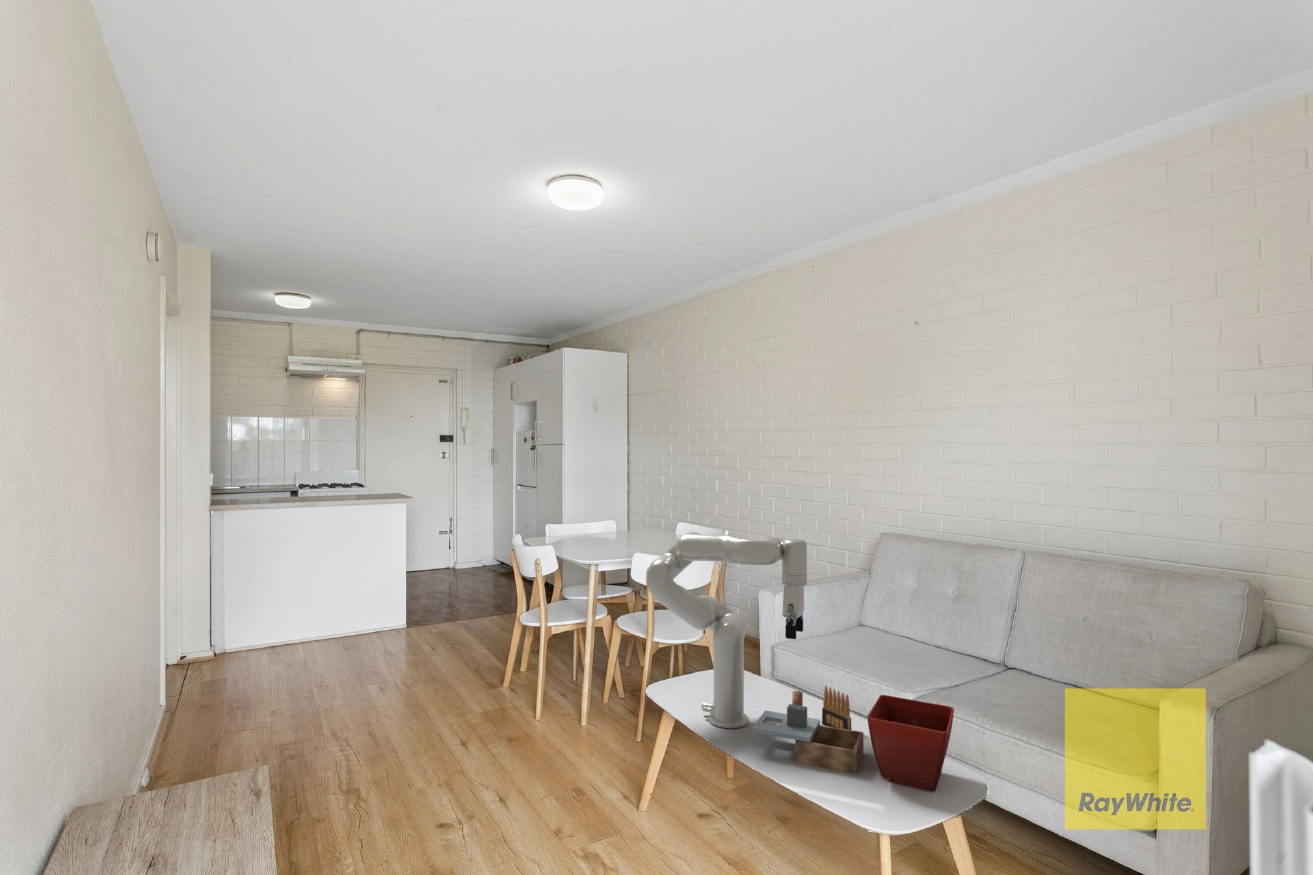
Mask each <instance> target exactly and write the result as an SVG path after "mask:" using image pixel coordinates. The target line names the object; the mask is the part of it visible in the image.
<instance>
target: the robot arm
mask: <svg viewBox="0 0 1313 875" xmlns="http://www.w3.org/2000/svg"><path fill="white" fill-rule="evenodd" d="M807 545H808V544H807V541H806V540H804V539H800V538H778V537H773V536H768V537H764V538H763V539H761V540H757V539H756V540H753V539H751V540H750V539H740V538H739V539H738V538H735V537H732V535H731V536H730V535H726V534H706V533H705V534H702V533H701V534H700V533H699V532H696V531H688V532H686V533H684V534H682V535H681V536H680V537H679V538H678V539H677V541H676V542H675V543H674V544H673V545H671V547H670V548H669V549H668V550H667V551H665V552H664V553H663V554H662V555H661V556H659V557H658V558H655V559H654V560H653V561H652V562H651V563H650V565H649V566H648V569H647V571H646V586H647V589H648V591H649V593H650V595H651V596H652V597H653V598H654V600H655V601H656V602H658V603H659V604H661V605H662V606H663V607H665V608H666V609H667V610H669V611H670V612H672V613H673V614H674V615H676V616H677V617H679V618H680V619H681V620H683V621H684V622H686V624H688V625H690V626H691V627H692V628H694V629H696V630H697V631H704V630H708V629H709V630H711V632H713V633H712V650H713V651H712V652H713V703H708V702H702V703H701V710H702V712H706V713H709V715H708V721H709V722H710V724H712V725H713V726H716V727H719V728H724V729H737V728H738V729H739V728H742V727H745V726H747V725H748V724H749V721H750V720H749V719H750V717H749V716H748V715H747V714H746V713H744V712H745V710H744V709H745V706H744V705H745V691H744V690H745V682H744V681H745V668H744V667H745V665H744V664H745V663H744V662H745V660H744V659H745V658H744V656H745V654H744V644H745V643H744V641H745V637H746V634H747V625H746V622H745V620H744V619H743V618H742V617H741V615H739V614H738V613H736V612H735V611H734V610H733V609H731V608H729V607H727V605H725V604H723V603H722V602H721V601H719V600H718V599H716V598H714V597H713V596H711V595H708V594H707V595H706V594H701V595H698V596H697V595H695V594H694V593H692V592H690V591H689V590H688V589H687V588H685V587H683V586H682V585H679V584H678V583H677V582H675V580H674V579H676V578H677V576H679V575H680V574H681V573H682V572H683V571H684V570H685V569H687V567H689V566H690V565H691V564H692V563H693V562H695V561H696V562H697V561H698V562H717V563H718V562H720V563H721V562H722V563H727V564H728V563H729V564H739V565H749V566H750V565H751V566H752V565H753V566H771V565H774V564H776V563H778V562H779V561H782V562H781V567H782V568H781V572H782V573H781V575H782V576H781V578H782V579H781V580H782V585H784V586H783V592H782V593H783V594H782V595H783V596H782V613H781V614H782V617H783V618H785V632H784V634H785V638H786V639H788V640H789V639H790V640H796V639H797V632H800V633H802V632H803V631H804V612H805V586H807V585H808V558H807V557H808V552H807V551H808V546H807Z"/></svg>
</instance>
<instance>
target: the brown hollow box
mask: <svg viewBox="0 0 1313 875" xmlns="http://www.w3.org/2000/svg"><path fill="white" fill-rule="evenodd" d="M864 745H865V744H864V732H863V731H859V730H853V729H851V730H848V729H842V728H836V727H830V726H825V725H823V724H820V725H819V727H818V728H817V730H816V732H815V734H814V736H813V738H812V740H811V742H805V741H799V740H794V757H795V758H794V763H796V764H800V765H807V766H812V767H815V768H819V769H820V768H821V769H826V770H831V771H837V772H841V773H847V774H852V775H856V776H857V774H858V771H859V767H860V766H861V763H862V762H861V761H862V760H863V755H864V749H865V748H864Z"/></svg>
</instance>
